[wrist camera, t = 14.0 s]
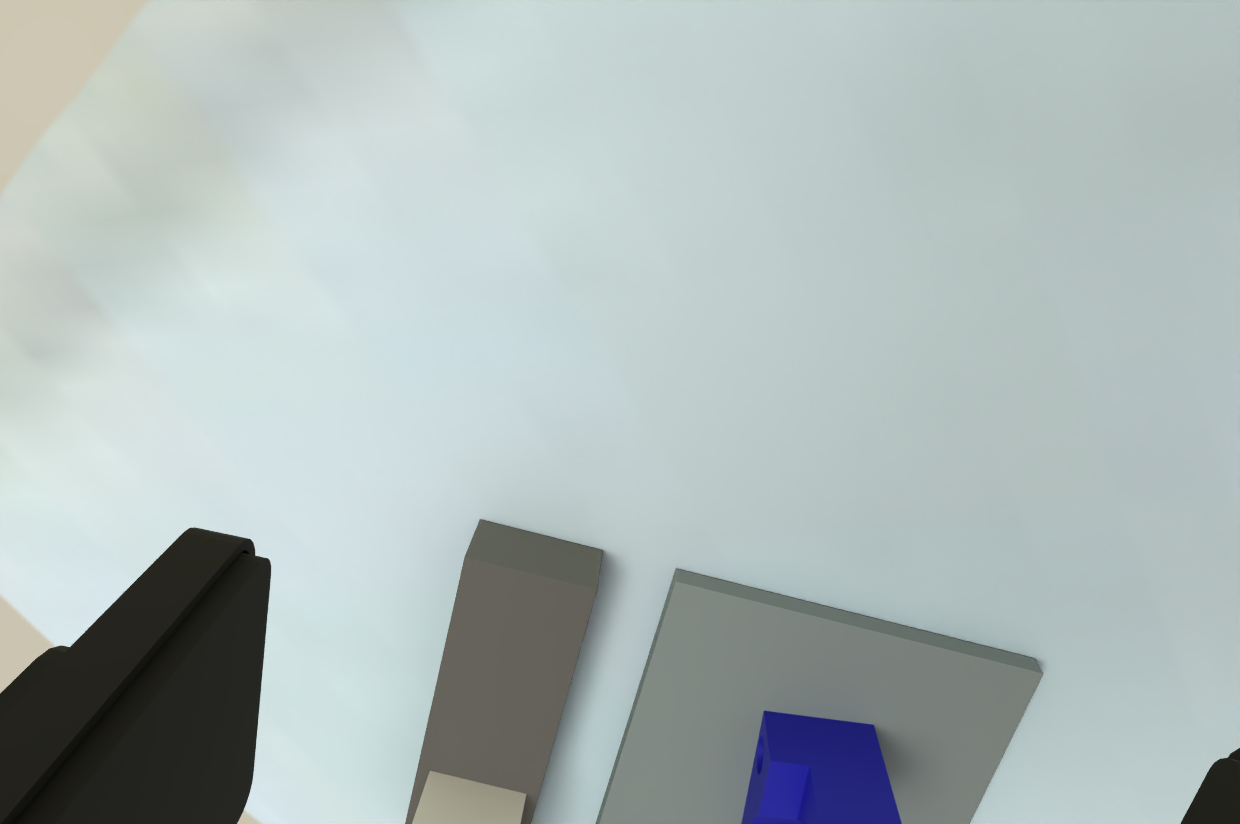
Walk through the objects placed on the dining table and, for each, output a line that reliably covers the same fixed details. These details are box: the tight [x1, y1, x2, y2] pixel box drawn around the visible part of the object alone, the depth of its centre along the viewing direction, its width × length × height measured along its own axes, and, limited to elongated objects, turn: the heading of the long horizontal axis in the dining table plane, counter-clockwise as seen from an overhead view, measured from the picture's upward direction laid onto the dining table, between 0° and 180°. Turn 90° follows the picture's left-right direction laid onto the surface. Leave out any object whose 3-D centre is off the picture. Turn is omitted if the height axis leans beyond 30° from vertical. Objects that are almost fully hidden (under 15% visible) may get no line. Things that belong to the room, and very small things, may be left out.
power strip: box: [405, 520, 603, 824], centre depth 40 cm, size 5×16×6 cm, turn 166°
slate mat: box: [596, 569, 1043, 824], centre depth 43 cm, size 15×18×1 cm
